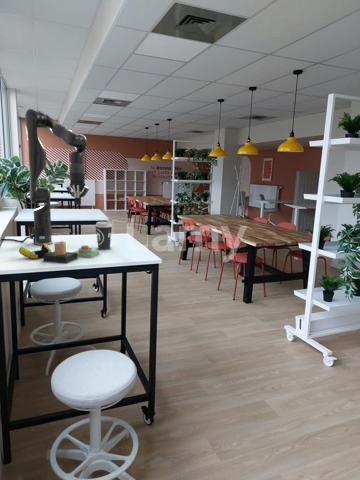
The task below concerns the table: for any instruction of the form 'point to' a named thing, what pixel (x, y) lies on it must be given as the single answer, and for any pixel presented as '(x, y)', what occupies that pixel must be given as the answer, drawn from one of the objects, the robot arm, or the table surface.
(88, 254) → the button box
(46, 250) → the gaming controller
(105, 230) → the coffee cup
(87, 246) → the button
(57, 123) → the robot arm
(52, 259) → the panel
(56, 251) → the knob
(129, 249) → the table surface
